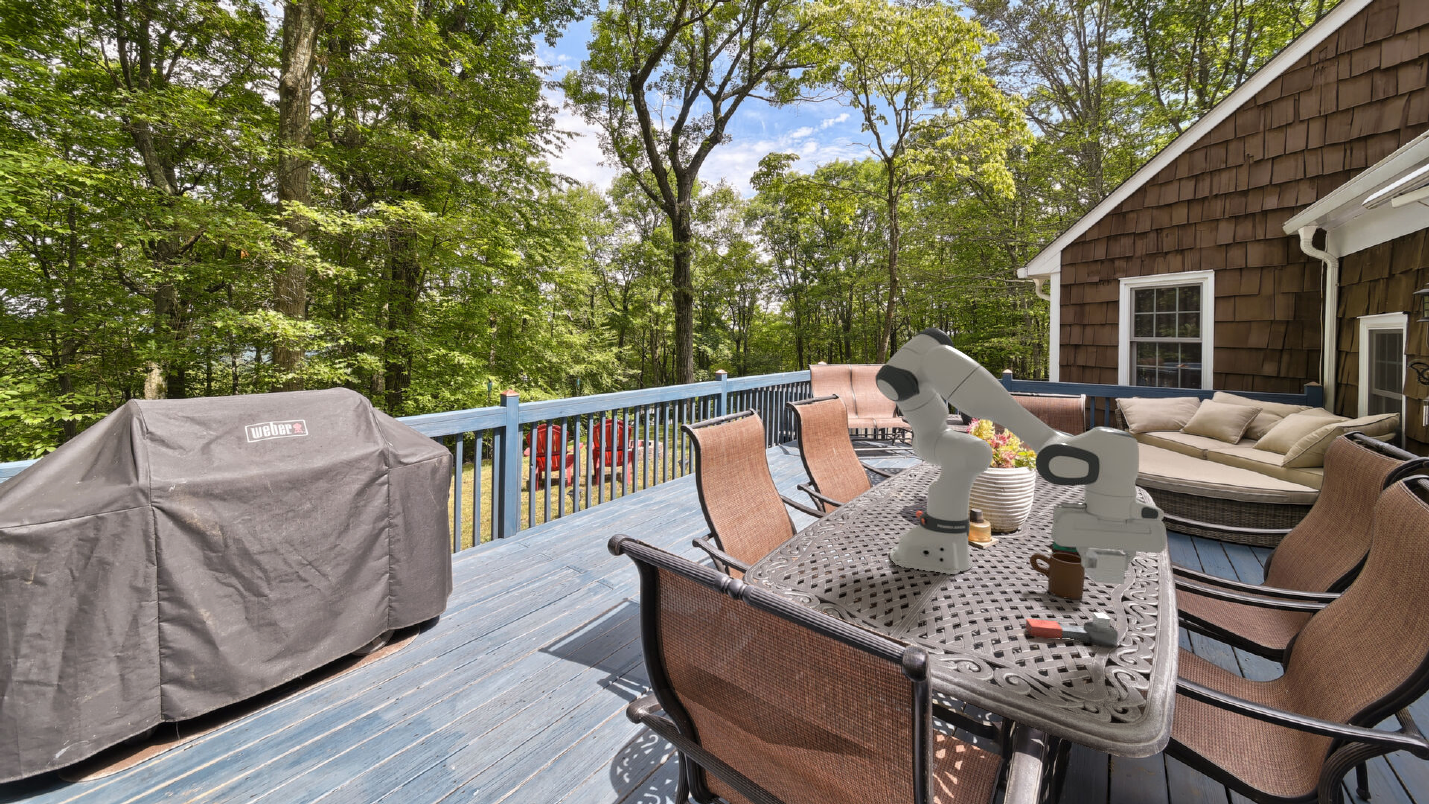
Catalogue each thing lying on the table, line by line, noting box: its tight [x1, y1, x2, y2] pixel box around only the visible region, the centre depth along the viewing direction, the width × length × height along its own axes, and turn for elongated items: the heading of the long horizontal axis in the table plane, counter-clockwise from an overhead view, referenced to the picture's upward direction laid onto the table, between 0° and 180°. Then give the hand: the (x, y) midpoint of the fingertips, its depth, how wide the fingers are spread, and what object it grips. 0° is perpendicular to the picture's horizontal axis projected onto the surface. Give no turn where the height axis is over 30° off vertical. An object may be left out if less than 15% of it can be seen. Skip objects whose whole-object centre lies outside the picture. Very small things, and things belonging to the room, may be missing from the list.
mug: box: [1029, 553, 1086, 600], centre depth 140 cm, size 12×8×9 cm, turn 55°
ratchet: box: [1025, 612, 1119, 649], centre depth 118 cm, size 17×6×6 cm, turn 78°
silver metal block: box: [1084, 548, 1126, 585], centre depth 115 cm, size 5×5×6 cm
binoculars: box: [1048, 541, 1086, 558], centre depth 159 cm, size 9×11×10 cm
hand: (1104, 568), depth 115 cm, fingers closed on silver metal block, 5 cm apart
